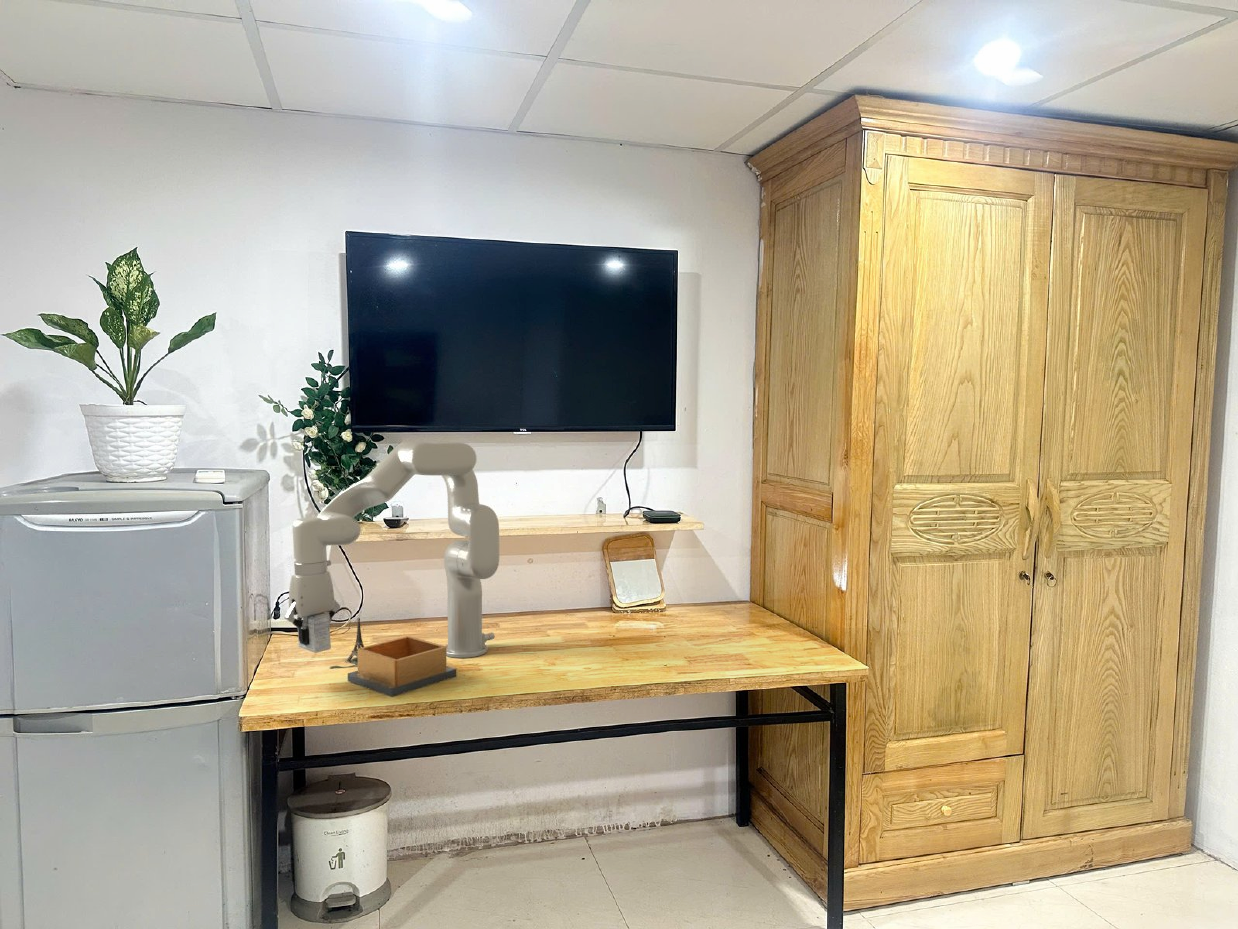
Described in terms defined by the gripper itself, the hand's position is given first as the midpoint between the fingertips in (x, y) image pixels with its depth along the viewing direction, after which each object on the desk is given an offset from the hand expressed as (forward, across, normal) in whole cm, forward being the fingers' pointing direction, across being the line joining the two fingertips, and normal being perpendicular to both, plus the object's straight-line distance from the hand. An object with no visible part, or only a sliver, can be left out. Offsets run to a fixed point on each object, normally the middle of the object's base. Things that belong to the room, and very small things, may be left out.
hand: (314, 640), depth 211 cm
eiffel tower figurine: (+13, -19, -9) cm, 24 cm away
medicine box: (+2, 0, 0) cm, 2 cm away
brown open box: (+12, -17, +12) cm, 24 cm away
